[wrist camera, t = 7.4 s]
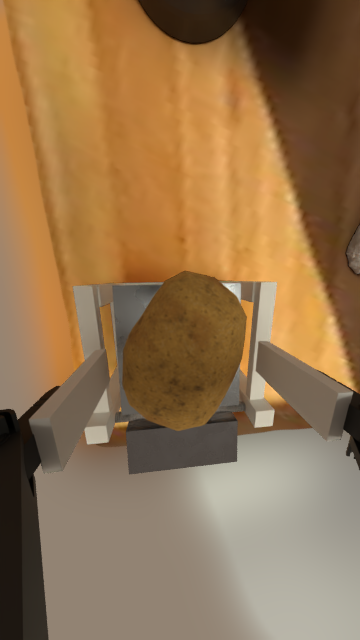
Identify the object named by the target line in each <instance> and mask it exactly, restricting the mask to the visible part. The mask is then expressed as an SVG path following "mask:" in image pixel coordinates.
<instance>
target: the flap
mask: <svg viewBox="0 0 360 640" xmlns="http://www.w3.org/2000/svg"><path fill="white" fill-rule="evenodd" d="M222 284H223V285H224V286H225V287H227V288H228V289H229V290H230V291H231V292H233V293H234V294H235V295H236V296H237V297H238V299H239V302H240V304H241V283H222ZM161 286H162V285H115V286H112V290H113V304H114V317H115V331H116V344H117V357H118V371H119V384H120V397H121V411H122V412H116V414H115V423H118V422H129V423H128V427H127V430H126V438H127V452H128V465H129V474H136V473H144V472H153V471H161V470H170V469H178V468H186V467H195V466H203V465H212V464H220V463H229V462H236V461H237V419H236V418H235V416H234V414H233V413H232V412H238V411H246V406H245V403H244V402H243V401H240V402H239V385H240V364H239V367H238V370H237V372H236V375H235V377H234V379H233V381H232V383H231V385H230V387H229V389H228V391H227V393H226V395H225V397H224V398H223V400H222V402H221V404H220V405H219V407H218V409H217V411H216V412H215V413H214V414H213V415H212V417H211V418H210V419H209V420H208V422H207V423H206V424H205V425H202V426H198V427H193V428H189V429H185V430H181V431H176V430H173V429H170V428H168V427H165V426H162V425H159V424H156V423H153V422H150V421H148V420H147V419H145V418H144V417H143V416H142V415H141V414H140V413H138V412H137V411H136V410H135V409H134V408H133V407H131V406H130V405H129V402H128V400H127V397H126V394H125V391H124V389H123V386H122V376H123V349H124V346H125V344H126V341H127V339H128V336H129V333H130V332H131V330H132V328H133V327H134V326H135V324H136V323H137V322H138V320H139V319H140V317H141V316H142V314H143V312H144V311H145V309H146V308H147V306H148V304H149V303H150V301H151V300H152V298H153V297H154V295H155V294H156V293H157V291H158V290H159V288H160V287H161Z"/></svg>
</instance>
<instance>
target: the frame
mask: <svg viewBox="0 0 360 640" xmlns="http://www.w3.org/2000/svg"><path fill="white" fill-rule="evenodd" d="M219 282H221V283H241V299H242V300H246V301H250V302H254V306H253V317H252V329H251V340H250V352H249V363H248V374H247V377H246V376H245V375H244V373H243V372H242V371H241V370H240V385H239V402H240V401H243V402H244V403H245V406H246V411H245V413H246V414H247V416H248V418H249V419H250V421H251V423H252V424H253V426H254V427H265V426H272V425H273V418H274V411H275V410H274V409H273V408H272V406H271V405H270V404H269V403H268V402H267V400H266V399H265V398H264V389H265V380H264V379H263V378H262V377H261V376H260V375H259V374H258V373H257V372H256V361H257V351H258V341H268V342H270V338H271V330H272V321H273V313H274V304H275V296H276V287H277V282H254V281H219ZM163 283H164V282H146V283H107V284H93V285H80V286H73V292H74V298H75V304H76V310H77V316H78V322H79V328H80V334H81V340H82V346H83V352H84V358H85V360H86V359H87V358H88V357H89V356H90V355H91V354H92V353H93V352H94V351H95V350H103V349H105V346H104V339H103V331H102V324H101V316H100V309H99V307H102V306H104V305H107V304H109V303H110V306H111V315H112V324H113V332H114V341H115V350H116V358H117V367H116V369H115V371H114V373H113V374H112V376H111V378H110V382H109V384H108V386H107V388H106V389H105V391H104V393H103V395H102V397H101V399H100V401H99V403H98V405H97V407H96V409H95V410H94V412H93V414H92V416H91V418H90V420H89V422H88V424H87V426H86V428H85V429H84V430H85V435H86V440H87V444H96V443H106V442H109V439H110V436H111V433H112V430H113V428H114V425H115V414H116V412H119V410H120V407H121V397H120V384H119V371H118V357H117V344H116V331H115V317H114V304H113V290H112V286H115V285H162V284H163Z"/></svg>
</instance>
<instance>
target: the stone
mask: <svg viewBox="0 0 360 640" xmlns="http://www.w3.org/2000/svg"><path fill="white" fill-rule="evenodd" d="M346 255H347V258H348V260H349V265H348V266H349V267H351V268H352V269H353V271H354V273H355V274H360V225H359V226H358V228H357V229H356V232H355V234H354V236H353V237H352V240H351V241H350V244H349V246H348V249H347V252H346Z"/></svg>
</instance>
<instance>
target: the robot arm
mask: <svg viewBox="0 0 360 640" xmlns="http://www.w3.org/2000/svg"><path fill="white" fill-rule="evenodd" d="M139 1H140V3H141V5H142V6H143V8H144V9H145V11H146V12H147V14H148V15H149V16H150V18H151V19H152V20H153V21H154V22H155V23H156V24H157V25H158V26H159V27H160V28H161V29H162V30H164V31H165V32H166V33H168V34H169V35H171V36H173V37H175V38H177V39H179V40H182V41H186V42H192V43H201V42H206V41H210V40H213V39H215V38H217V37H219V36H220V35H222V34H223V33H225V32H226V31H227V30H228V29H229V28H230V27H231V26H232V25H233V24H234V23H235V22H236V20H237V19H238V17H239V16H240V14H241V13H242V11H243V9H244V7H245V5H246V3H247V0H139ZM256 372H257V373H258V374H259V375H260V376H261V377H262V378H263V379H264V380H265V381H266V382H267V383H268V384H269V385H270V386H271V387H272V388H273V389H274V390H275V391H276V392H277V393H278V394H279V395H280V396H281V397H282V398H284V399H285V400H286V401H287V402H288V403H289V404H290V405H291V406H292V407H293V408H294V409H295V410H296V411H297V412H298V413H299V414H300V415H301V416H302V417H303V418H304V419H305V420H306V421H307V422H308V423H309V424H310V425H311V426H312V427H313V428H314V429H315V430H316V431H317V432H318V433H319V434H320V435H321V436H322V437H323V438H324V439H325V440H326V441H334V440H341V437H342V433H343V429H344V430H345V431H346V432H347V433H349V434H350V435H351V436H350V440H349V444H348V447H347V451H346V455H347V456H350V453H351V452H353V453H354V459H356V461H357V464H358V466H359V470H360V394H359V393H357V392H355V391H354V390H352V389H350V388H348V387H347V386H345V385H343V384H342V383H340V382H337V381H336V380H335V379H333V378H330V376H328V375H326V374H324V373H323V372H321V371H318V370H316V369H314V368H312V367H311V366H309V365H307V364H305V363H304V362H302V361H300V360H299V359H297V358H295V357H294V356H292V355H290V354H289V353H287V352H285V351H283V350H282V349H280V348H278V347H277V346H275V345H273V344H272V343H270V342H268V341H258V351H257V361H256ZM109 382H110V377H109V369H108V362H107V354H106V349H103V350H95V351H94V352H93V353H92V354H91V355H90V356H89V357H88V358H87V359H86V360H85V361H84V362H83V364H82V365H81V366H80V367H79V368H78V369H77V370H76V371H75V372H74V373H73V374H72V375H71V376H70V377H69V378H68V379H67V380H66V381H65V383H63V384H62V385H61V386H56V387H54V388H53V389H51V390H49V391H48V392H47V393H45V394H44V395H43V396H42V397H41V398H40V399H39V401H37V402H36V403H35V404H34V405H33V406H32V407H31V408H30V409H29V410H28V411H26V412H25V414H23V415H22V416H21V417H20V418H19V419H18V420H17V417H16V413H15V411H14V410H11V409H6V410H0V640H48V628H47V616H46V605H45V592H44V580H43V567H42V555H41V543H40V531H39V520H38V507H37V495H36V484H35V477H34V474H33V473H34V472H35V470H36V469H37V467H38V466H39V464H40V463H41V466H42V469H43V473H51V472H59V471H63V469H64V467H65V465H66V464H67V462H68V460H69V458H70V456H71V454H72V452H73V450H74V448H75V447H76V444H77V443H78V441H79V439H80V437H81V435H82V433H83V431H84V429H85V428H86V426H87V424H88V422H89V420H90V418H91V416H92V414H93V412H94V410H95V409H96V407H97V405H98V403H99V401H100V399H101V397H102V395H103V393H104V391H105V389H106V388H107V386H108V384H109Z"/></svg>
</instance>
